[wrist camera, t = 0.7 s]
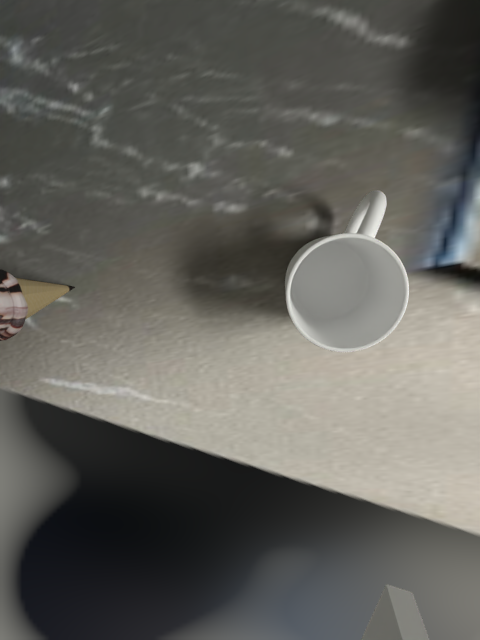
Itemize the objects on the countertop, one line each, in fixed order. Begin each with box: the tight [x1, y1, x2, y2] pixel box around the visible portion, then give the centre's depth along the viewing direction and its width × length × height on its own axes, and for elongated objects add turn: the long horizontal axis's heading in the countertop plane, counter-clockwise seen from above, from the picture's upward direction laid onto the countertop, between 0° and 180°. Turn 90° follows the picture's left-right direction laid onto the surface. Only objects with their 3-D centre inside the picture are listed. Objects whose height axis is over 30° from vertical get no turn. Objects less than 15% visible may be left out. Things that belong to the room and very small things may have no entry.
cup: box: [285, 190, 409, 352], centre depth 29 cm, size 8×12×10 cm
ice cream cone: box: [0, 269, 75, 341], centre depth 30 cm, size 6×6×15 cm
